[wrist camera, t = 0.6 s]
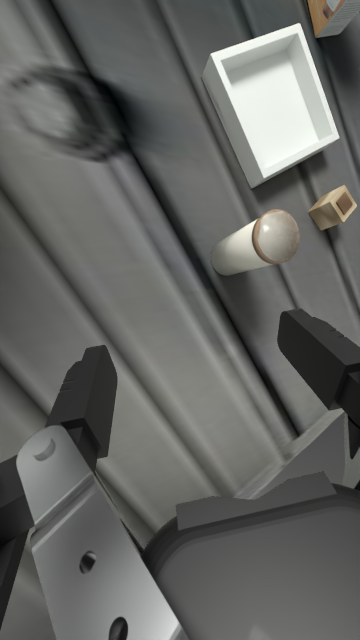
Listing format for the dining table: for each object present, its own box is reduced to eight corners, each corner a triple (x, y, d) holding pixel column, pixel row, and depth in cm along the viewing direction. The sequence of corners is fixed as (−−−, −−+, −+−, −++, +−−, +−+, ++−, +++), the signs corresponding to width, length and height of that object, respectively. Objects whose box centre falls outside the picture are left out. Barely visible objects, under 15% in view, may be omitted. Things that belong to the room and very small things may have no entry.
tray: (201, 77, 31) (210, 53, 28) (284, 46, 34) (299, 22, 31) (251, 189, 34) (263, 178, 31) (321, 150, 37) (339, 137, 35)
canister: (203, 250, 32) (247, 223, 22) (232, 233, 34) (287, 200, 23) (220, 282, 33) (270, 272, 23) (247, 265, 35) (306, 247, 24)
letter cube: (307, 212, 38) (331, 201, 34) (321, 196, 38) (346, 183, 34) (320, 230, 39) (344, 221, 35) (333, 214, 39) (358, 204, 35)
